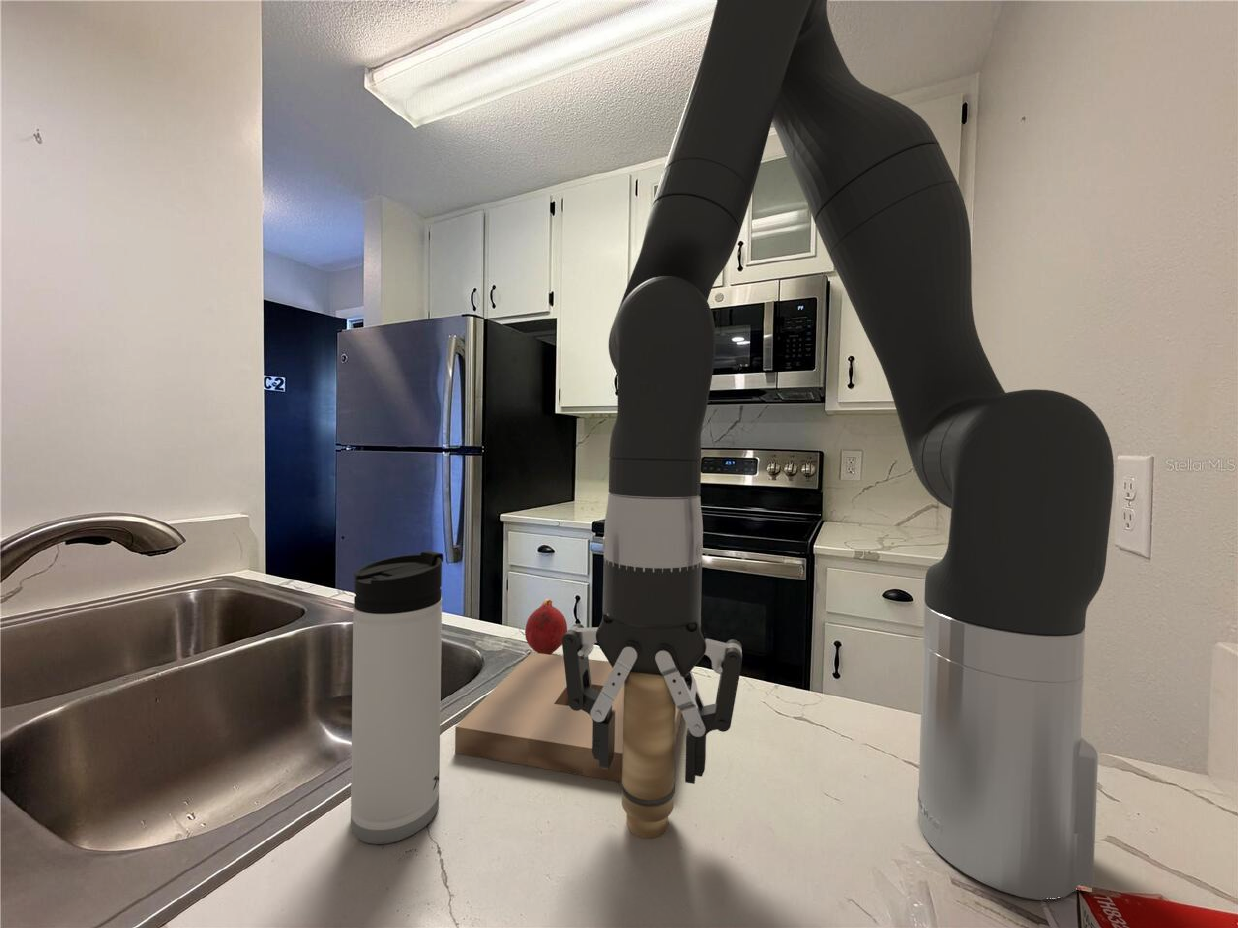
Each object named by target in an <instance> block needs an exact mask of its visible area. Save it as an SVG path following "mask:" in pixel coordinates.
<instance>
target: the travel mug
mask: <svg viewBox="0 0 1238 928" xmlns="http://www.w3.org/2000/svg"><path fill="white" fill-rule="evenodd" d="M443 562H444V554H443V553H441V552H436V551H431V550H427V551H422V552H420V553H419V554H405V555H398V556H392V557H388V558H384V559H383V558H382V559H380V560H377V561H374V562H371V563H368V564H366V565H364V566H361V568H359V569H357V570H356V571H355V573H354V584H353V585H354V595H355V596H354V598H353V599H354V600H353V602H354V603H353V606H352V607H353V609H352V611H353V612H352V613H353V617H352V618H353V619H352V684H351V685H352V688H351V689H352V691H351V692H352V694H351V695H352V699H351V700H352V701H351V706H352V707H351V765H350V766H351V777H350V778H351V781H350V783H351V786H350V805H351V806H350V829H351V831H352V834H353V835H354V836H355V837H356V838H357V839H359V840H360V841H362V842H364V843H367V844H375V845H376V844H377V845H380V844H381V845H382V844H383V845H384V844H391V843H396V842H398V841H402V840H404V839H406V838H409V837H411V836H412V835H415V834H416V833H418V832H419V831H421V830H423V828H425V827H426V826H427V825H428V824H429V823H430V822H431V821H432V820H433V819H434V816H436V814H437V812H438V809H439V806H440V781H441V780H440V779H441V778H440V771H441V769H440V768H441V760H440V759H441V711H442V710H441V708H442V707H441V703H442V702H441V698H442V639H443V638H442V637H443V636H442V635H443V634H442V632H443V631H442V630H443V626H442V625H443V607H442V605H443V596H442V589H441V587H442V584H443V579H442V578H443V575H442V574H443Z"/></svg>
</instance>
